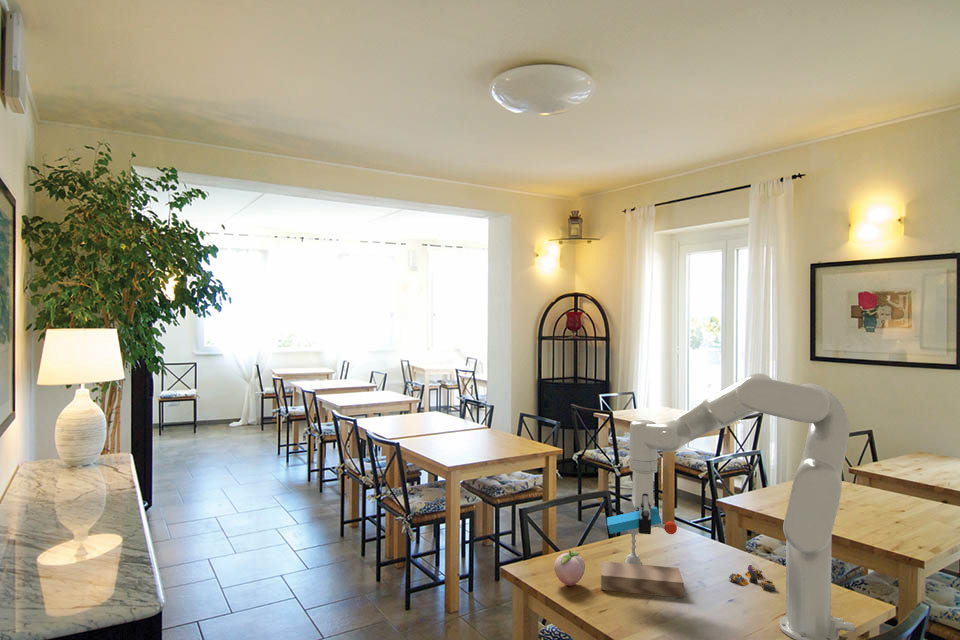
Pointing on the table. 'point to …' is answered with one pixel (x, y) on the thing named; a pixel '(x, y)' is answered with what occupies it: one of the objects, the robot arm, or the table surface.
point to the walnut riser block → (641, 579)
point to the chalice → (632, 557)
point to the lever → (632, 522)
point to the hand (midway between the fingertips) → (643, 528)
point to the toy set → (752, 579)
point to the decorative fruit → (569, 568)
